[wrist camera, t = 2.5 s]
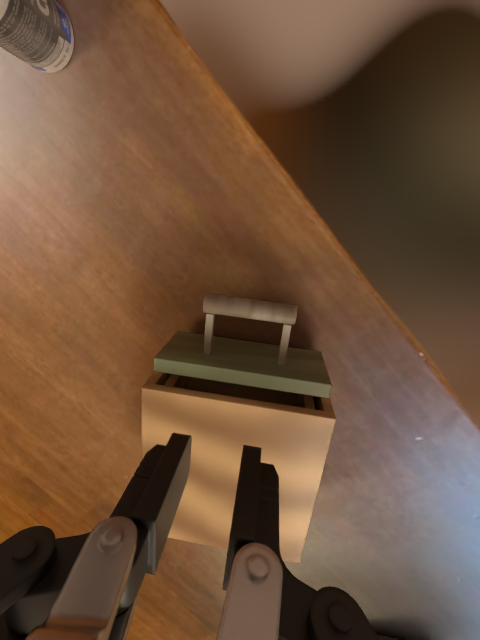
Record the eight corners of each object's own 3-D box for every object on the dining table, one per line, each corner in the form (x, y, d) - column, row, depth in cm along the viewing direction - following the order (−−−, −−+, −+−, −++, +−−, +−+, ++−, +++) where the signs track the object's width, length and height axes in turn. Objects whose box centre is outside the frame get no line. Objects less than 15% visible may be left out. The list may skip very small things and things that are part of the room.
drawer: (179, 279, 26) (154, 294, 21) (332, 298, 25) (347, 320, 20) (173, 452, 33) (152, 498, 27) (294, 473, 32) (298, 526, 26)
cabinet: (174, 347, 30) (141, 387, 22) (321, 368, 28) (336, 419, 21) (169, 468, 35) (142, 532, 28) (294, 490, 34) (299, 563, 26)
